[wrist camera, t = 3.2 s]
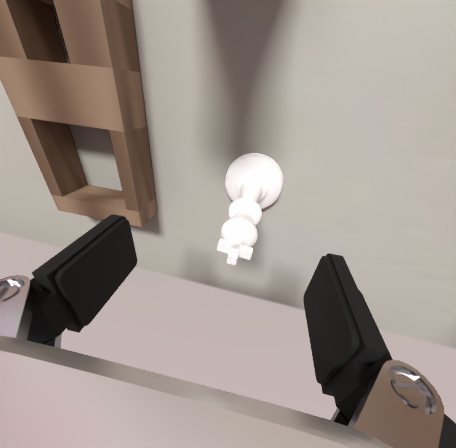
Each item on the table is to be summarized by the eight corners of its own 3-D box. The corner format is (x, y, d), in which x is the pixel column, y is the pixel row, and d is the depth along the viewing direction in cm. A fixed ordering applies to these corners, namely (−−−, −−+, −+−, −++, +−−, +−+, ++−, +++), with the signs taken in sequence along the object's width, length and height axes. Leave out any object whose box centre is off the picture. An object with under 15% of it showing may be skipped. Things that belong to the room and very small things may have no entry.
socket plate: (123, -63, 11) (80, -107, 9) (157, 211, 21) (141, 227, 19) (-10, -65, 12) (-81, -105, 10) (82, 197, 22) (58, 210, 20)
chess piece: (232, 145, 16) (185, 199, 8) (292, 161, 16) (306, 234, 8) (221, 199, 19) (178, 279, 11) (272, 213, 19) (267, 307, 10)
